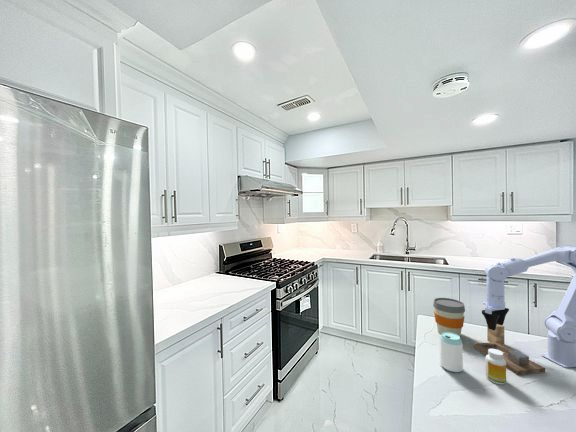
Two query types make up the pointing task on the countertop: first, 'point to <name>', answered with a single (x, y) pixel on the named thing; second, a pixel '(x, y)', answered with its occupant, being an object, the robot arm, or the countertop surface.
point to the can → (451, 352)
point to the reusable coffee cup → (449, 315)
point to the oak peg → (496, 334)
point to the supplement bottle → (495, 366)
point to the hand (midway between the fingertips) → (495, 326)
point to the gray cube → (518, 358)
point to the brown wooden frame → (510, 365)
